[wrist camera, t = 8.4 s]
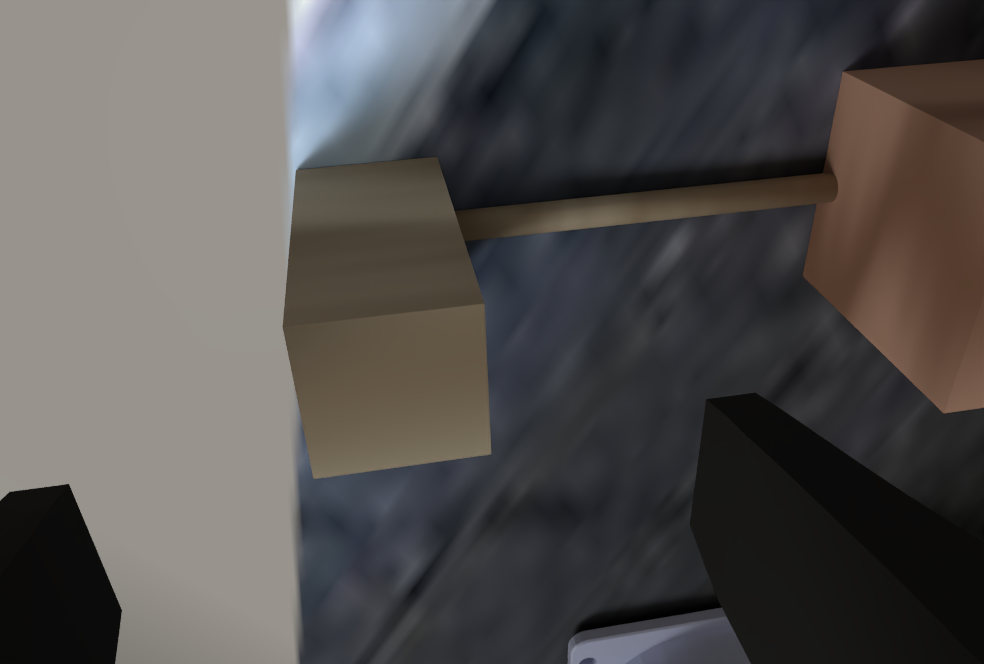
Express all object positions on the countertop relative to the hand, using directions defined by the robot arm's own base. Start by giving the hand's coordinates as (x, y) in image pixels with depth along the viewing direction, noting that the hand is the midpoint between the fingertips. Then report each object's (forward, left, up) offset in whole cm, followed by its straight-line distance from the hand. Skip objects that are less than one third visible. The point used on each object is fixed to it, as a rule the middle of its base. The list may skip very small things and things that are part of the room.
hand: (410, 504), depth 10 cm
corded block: (0, -6, -8) cm, 10 cm away
